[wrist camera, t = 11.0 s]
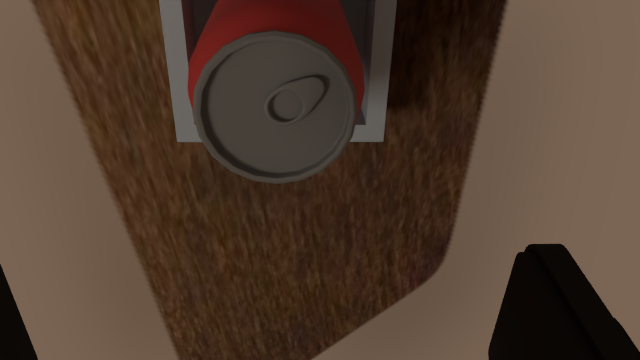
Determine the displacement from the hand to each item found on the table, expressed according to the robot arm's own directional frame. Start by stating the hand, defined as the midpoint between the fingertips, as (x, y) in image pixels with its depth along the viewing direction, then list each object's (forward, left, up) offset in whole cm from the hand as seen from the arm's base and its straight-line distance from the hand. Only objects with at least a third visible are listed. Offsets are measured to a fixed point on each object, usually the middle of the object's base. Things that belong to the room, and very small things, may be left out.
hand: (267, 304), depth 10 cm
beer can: (0, 0, -21) cm, 21 cm away
